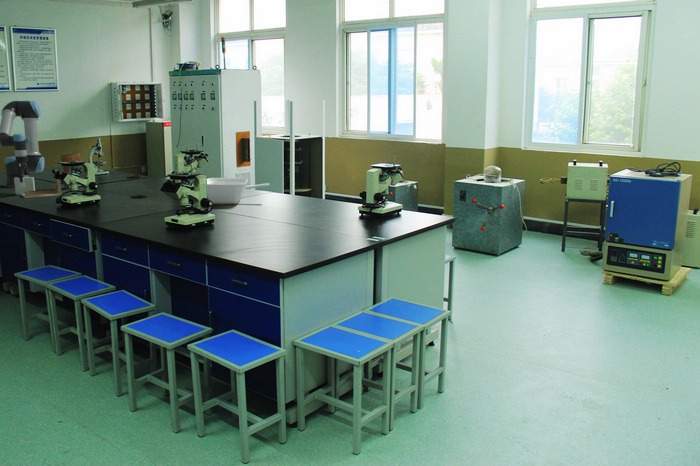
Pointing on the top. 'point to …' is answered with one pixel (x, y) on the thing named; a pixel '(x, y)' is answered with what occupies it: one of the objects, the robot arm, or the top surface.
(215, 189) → the pot
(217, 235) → the top surface
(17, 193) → the door panel
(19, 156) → the robot arm
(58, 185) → the brown l-shaped stand
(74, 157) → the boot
